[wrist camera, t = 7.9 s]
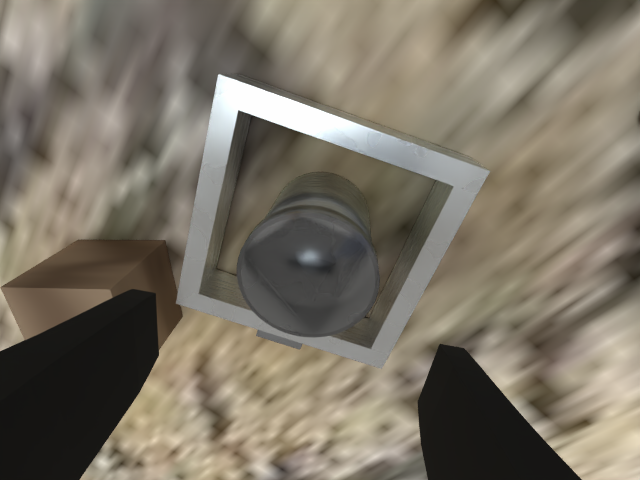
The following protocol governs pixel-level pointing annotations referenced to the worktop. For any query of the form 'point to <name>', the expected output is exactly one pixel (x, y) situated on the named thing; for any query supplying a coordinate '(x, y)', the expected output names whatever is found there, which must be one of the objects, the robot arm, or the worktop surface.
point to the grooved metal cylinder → (311, 259)
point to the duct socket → (352, 133)
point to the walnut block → (93, 283)
